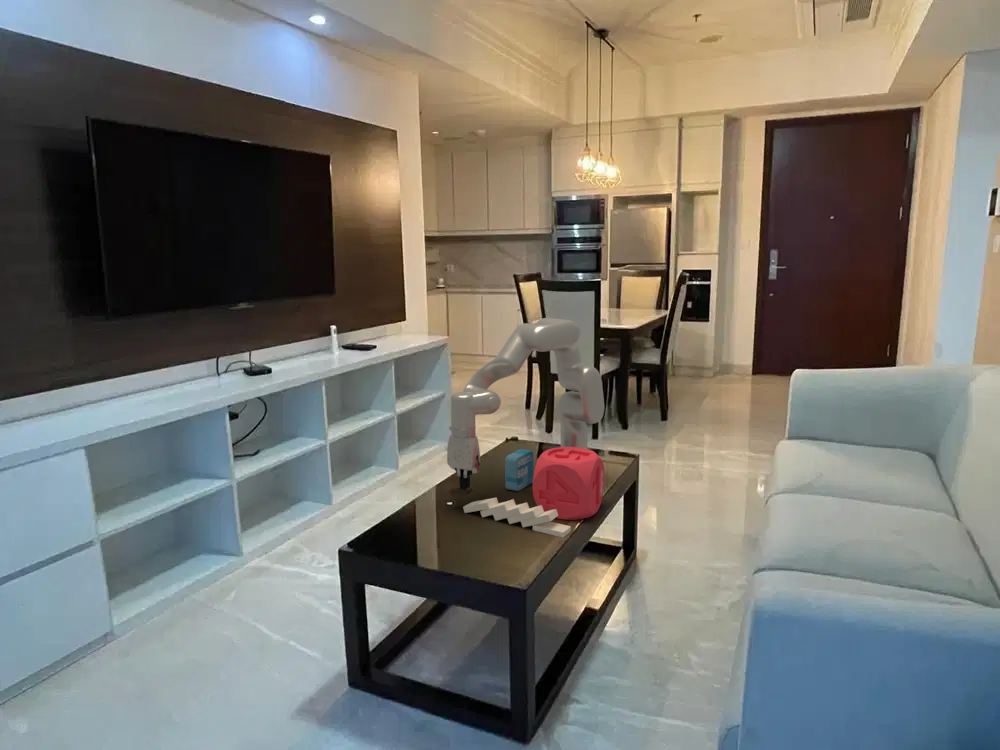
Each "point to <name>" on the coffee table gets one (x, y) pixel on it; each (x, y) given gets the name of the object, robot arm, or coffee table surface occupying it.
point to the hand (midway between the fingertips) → (464, 488)
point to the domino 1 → (480, 505)
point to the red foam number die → (569, 482)
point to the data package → (519, 470)
